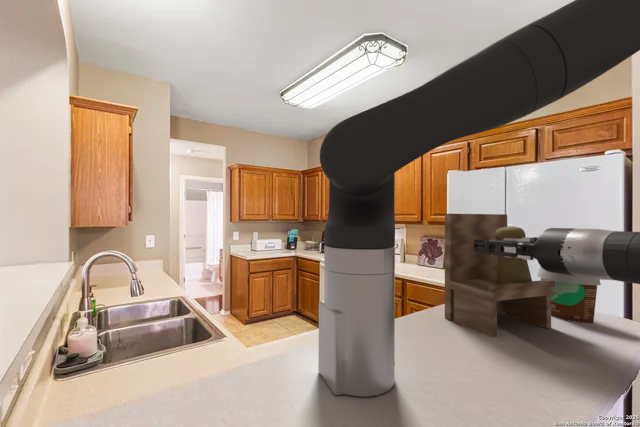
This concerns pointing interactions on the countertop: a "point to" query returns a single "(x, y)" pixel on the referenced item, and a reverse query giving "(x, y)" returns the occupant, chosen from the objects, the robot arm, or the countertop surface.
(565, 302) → the food container
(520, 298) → the wooden chair
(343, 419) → the countertop surface
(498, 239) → the cork
